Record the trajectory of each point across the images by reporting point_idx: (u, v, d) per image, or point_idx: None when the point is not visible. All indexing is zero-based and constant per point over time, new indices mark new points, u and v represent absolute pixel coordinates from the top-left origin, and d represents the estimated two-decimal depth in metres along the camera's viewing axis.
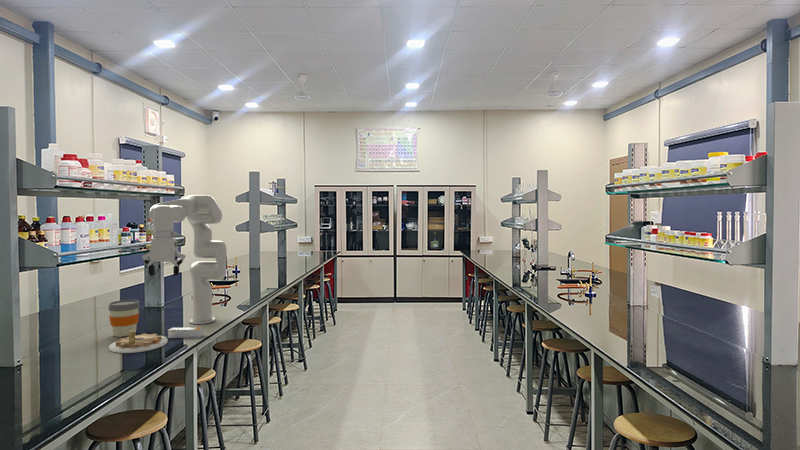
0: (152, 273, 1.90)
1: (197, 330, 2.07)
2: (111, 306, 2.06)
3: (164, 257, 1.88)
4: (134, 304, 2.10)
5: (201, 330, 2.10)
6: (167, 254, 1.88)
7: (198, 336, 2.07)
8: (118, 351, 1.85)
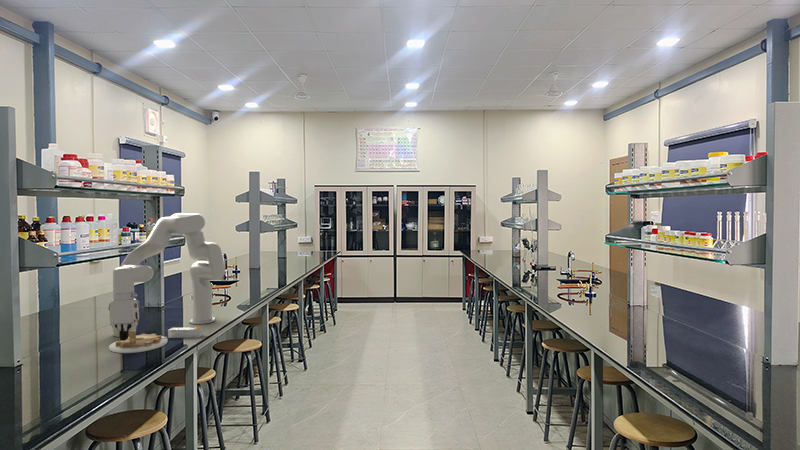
0: None
1: (197, 330, 2.07)
2: None
3: (123, 319, 1.87)
4: None
5: (201, 330, 2.10)
6: (126, 316, 1.87)
7: (198, 336, 2.07)
8: (118, 351, 1.85)
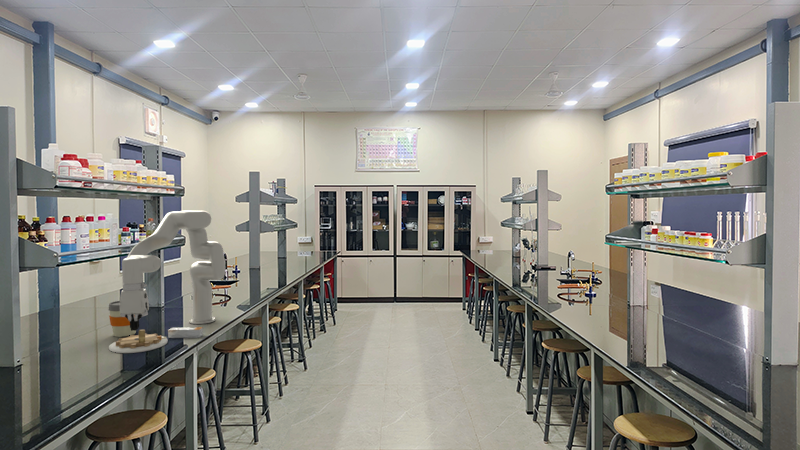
0: None
1: (197, 330, 2.07)
2: (111, 306, 2.06)
3: (134, 309, 1.88)
4: None
5: (201, 330, 2.10)
6: (137, 306, 1.88)
7: (198, 336, 2.07)
8: (118, 351, 1.85)
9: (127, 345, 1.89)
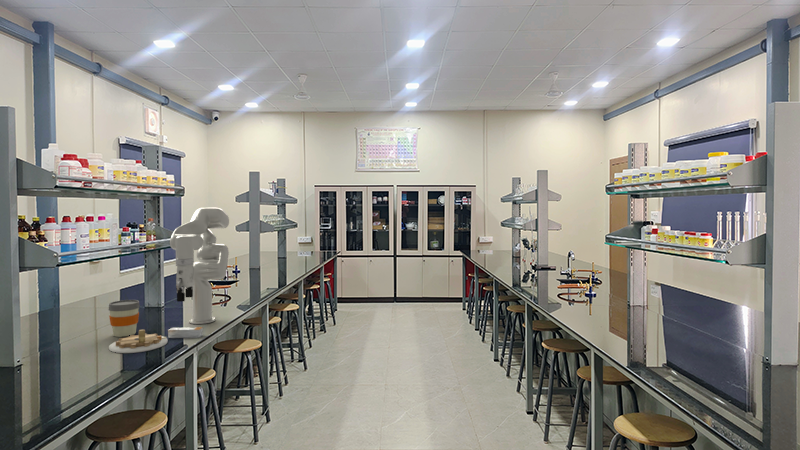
0: (187, 295, 2.12)
1: (197, 330, 2.07)
2: (111, 306, 2.06)
3: None
4: (134, 304, 2.10)
5: (201, 330, 2.10)
6: None
7: (198, 336, 2.07)
8: (118, 351, 1.85)
9: (127, 345, 1.89)
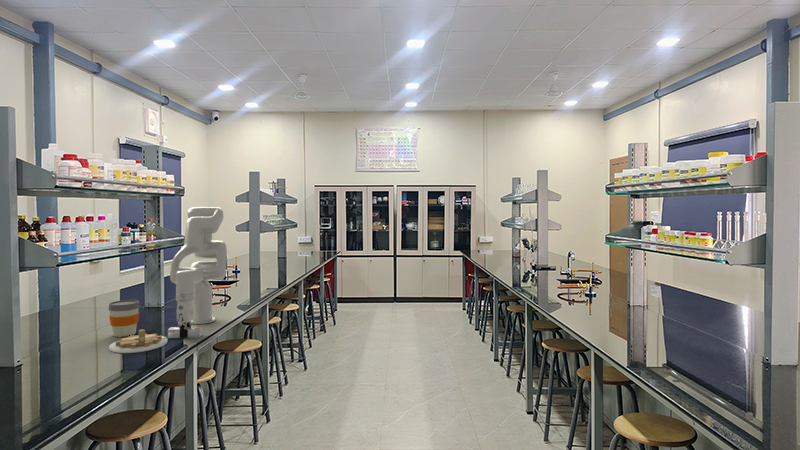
0: None
1: (197, 329, 2.07)
2: (111, 306, 2.06)
3: None
4: (134, 304, 2.10)
5: (201, 329, 2.10)
6: None
7: (198, 335, 2.07)
8: (118, 351, 1.85)
9: (127, 345, 1.89)
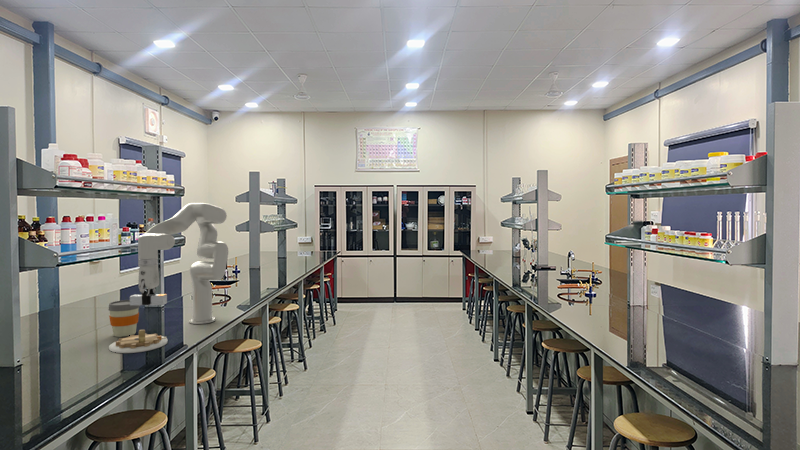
0: None
1: (160, 296, 1.98)
2: (111, 306, 2.06)
3: None
4: None
5: (165, 297, 2.01)
6: None
7: (161, 303, 1.98)
8: (118, 351, 1.85)
9: (127, 345, 1.89)
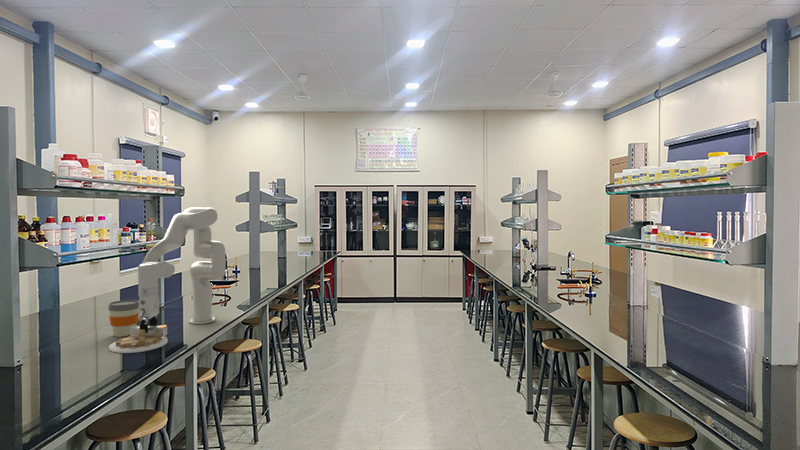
0: None
1: (161, 328, 1.99)
2: (111, 306, 2.06)
3: None
4: (134, 304, 2.10)
5: (165, 328, 2.01)
6: None
7: (162, 334, 1.99)
8: (118, 351, 1.85)
9: (127, 345, 1.89)
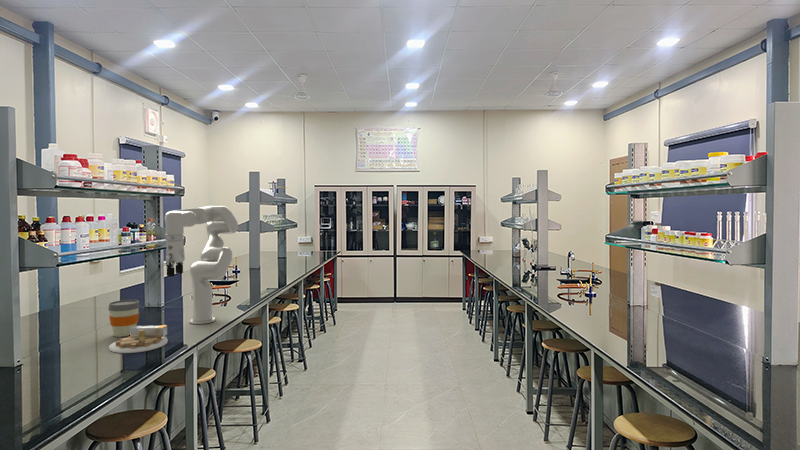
0: (177, 271, 2.16)
1: (161, 328, 1.99)
2: (111, 306, 2.06)
3: None
4: (134, 304, 2.10)
5: (165, 328, 2.01)
6: None
7: (162, 334, 1.99)
8: (118, 351, 1.85)
9: (127, 345, 1.89)
